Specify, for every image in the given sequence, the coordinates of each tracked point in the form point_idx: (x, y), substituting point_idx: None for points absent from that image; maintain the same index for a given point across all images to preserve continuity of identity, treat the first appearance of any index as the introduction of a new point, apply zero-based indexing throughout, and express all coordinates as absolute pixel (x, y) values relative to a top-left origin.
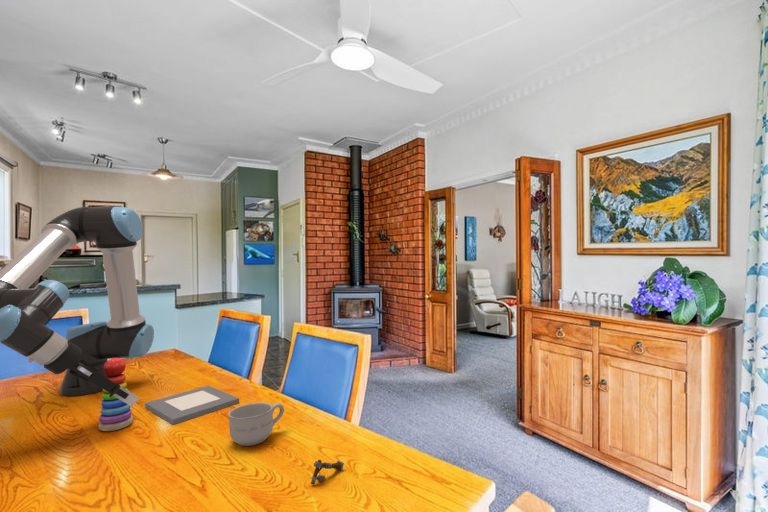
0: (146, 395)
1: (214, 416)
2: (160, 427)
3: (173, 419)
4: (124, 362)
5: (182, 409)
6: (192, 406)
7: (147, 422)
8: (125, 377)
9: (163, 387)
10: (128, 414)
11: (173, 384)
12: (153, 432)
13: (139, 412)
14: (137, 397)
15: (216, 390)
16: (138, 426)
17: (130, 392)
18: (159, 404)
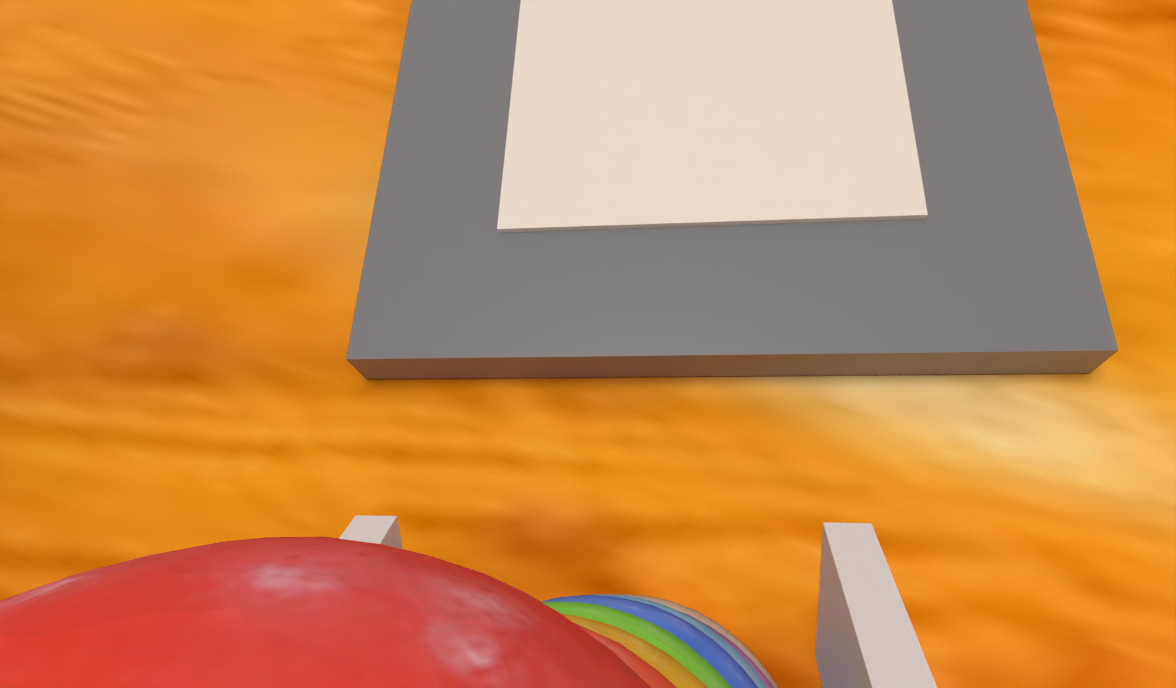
0: (60, 261)
1: (1141, 75)
2: (1063, 475)
3: (1116, 344)
4: (486, 636)
5: (899, 197)
6: (888, 114)
7: (804, 509)
8: (635, 658)
9: (24, 108)
10: (771, 685)
11: (42, 38)
12: (1165, 575)
13: (442, 460)
14: (876, 555)
15: None
16: None
17: (924, 669)
18: (530, 285)
